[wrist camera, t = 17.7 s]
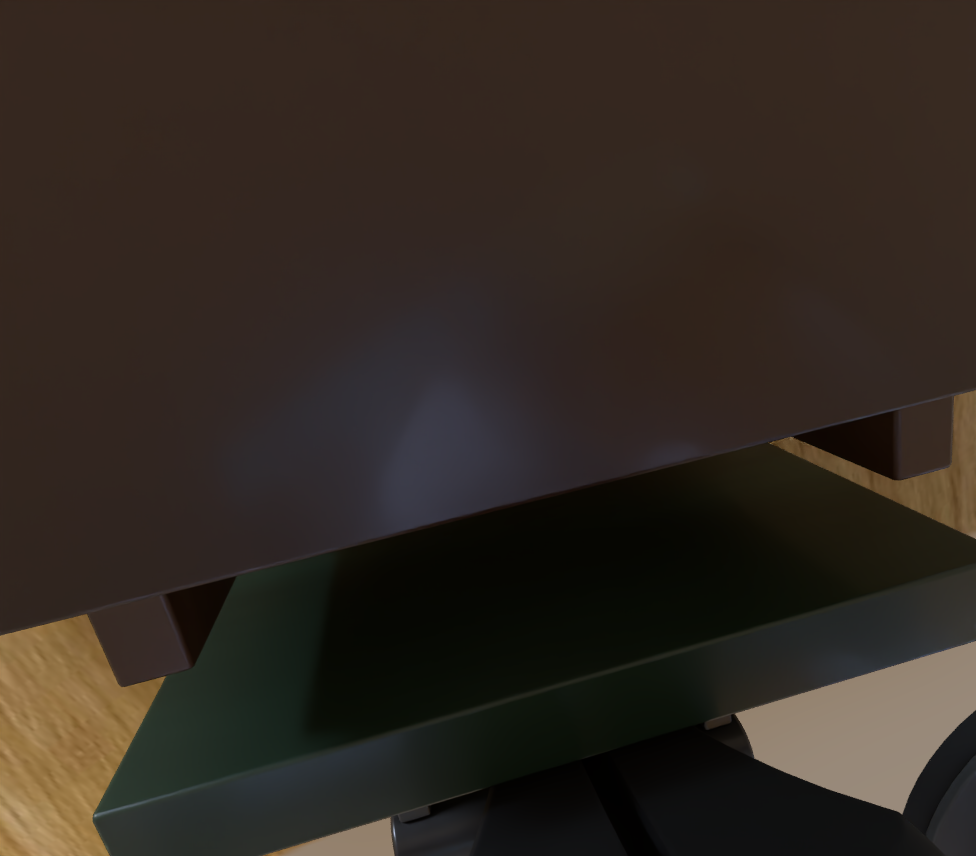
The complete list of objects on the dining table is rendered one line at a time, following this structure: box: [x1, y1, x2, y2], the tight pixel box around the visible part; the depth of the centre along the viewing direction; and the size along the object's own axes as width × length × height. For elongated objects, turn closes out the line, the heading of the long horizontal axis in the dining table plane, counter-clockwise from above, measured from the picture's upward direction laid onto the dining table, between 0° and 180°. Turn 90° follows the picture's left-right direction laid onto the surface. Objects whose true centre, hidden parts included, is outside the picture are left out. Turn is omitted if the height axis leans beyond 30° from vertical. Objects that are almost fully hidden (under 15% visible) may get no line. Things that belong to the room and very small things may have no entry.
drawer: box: [87, 396, 976, 856], centre depth 9 cm, size 18×11×7 cm, turn 11°
